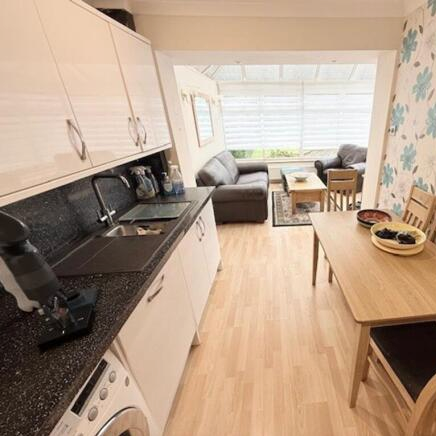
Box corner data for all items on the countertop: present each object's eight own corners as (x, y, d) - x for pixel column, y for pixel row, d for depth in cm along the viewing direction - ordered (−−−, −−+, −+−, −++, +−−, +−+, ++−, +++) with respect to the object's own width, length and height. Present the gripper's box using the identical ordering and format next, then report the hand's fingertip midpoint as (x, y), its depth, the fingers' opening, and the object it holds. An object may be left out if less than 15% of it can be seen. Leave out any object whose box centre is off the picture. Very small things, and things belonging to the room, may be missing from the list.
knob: (73, 325, 77) (66, 313, 75) (56, 332, 75) (47, 320, 73) (76, 316, 80) (68, 304, 78) (59, 322, 78) (51, 311, 76)
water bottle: (39, 298, 94) (2, 244, 83) (53, 300, 93) (17, 245, 82) (17, 312, 88) (-26, 256, 77) (32, 314, 86) (-10, 258, 76)
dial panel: (41, 351, 72) (36, 344, 71) (52, 327, 80) (47, 321, 79) (90, 333, 77) (85, 326, 76) (95, 312, 85) (91, 306, 84)
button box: (52, 321, 83) (46, 312, 81) (60, 302, 91) (55, 294, 89) (94, 306, 88) (89, 298, 86) (98, 290, 96) (94, 283, 94)
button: (64, 303, 86) (62, 299, 85) (67, 296, 89) (65, 292, 88) (78, 298, 87) (76, 295, 87) (80, 292, 91) (78, 288, 90)
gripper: (46, 289, 66) (72, 330, 73) (60, 263, 77) (82, 301, 84) (9, 300, 63) (40, 342, 70) (30, 271, 74) (55, 310, 81)
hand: (63, 319), depth 77 cm, fingers open, 8 cm apart
